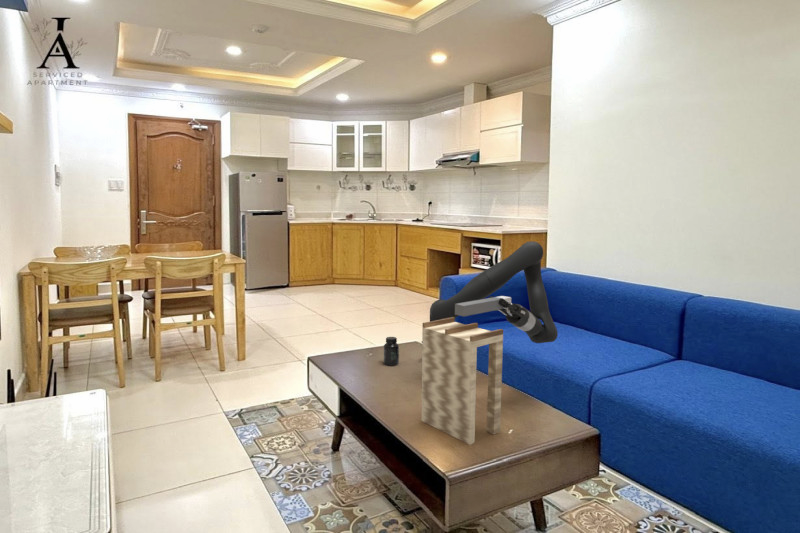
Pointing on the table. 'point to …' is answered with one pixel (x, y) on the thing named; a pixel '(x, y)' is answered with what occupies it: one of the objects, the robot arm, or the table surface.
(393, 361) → the supplement bottle
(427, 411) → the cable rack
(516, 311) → the robot arm
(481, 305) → the grey rectangular bar
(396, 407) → the table surface
